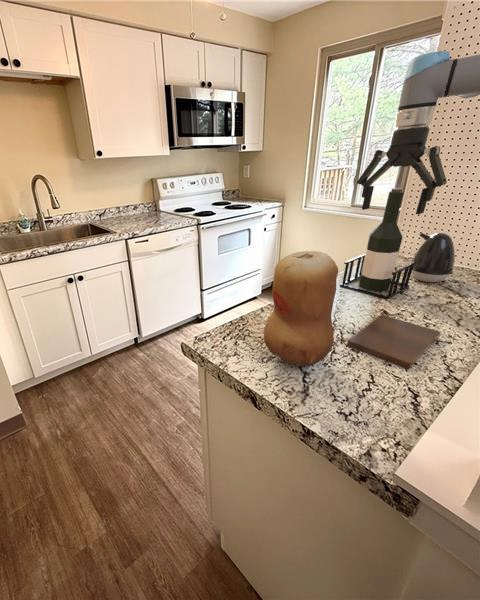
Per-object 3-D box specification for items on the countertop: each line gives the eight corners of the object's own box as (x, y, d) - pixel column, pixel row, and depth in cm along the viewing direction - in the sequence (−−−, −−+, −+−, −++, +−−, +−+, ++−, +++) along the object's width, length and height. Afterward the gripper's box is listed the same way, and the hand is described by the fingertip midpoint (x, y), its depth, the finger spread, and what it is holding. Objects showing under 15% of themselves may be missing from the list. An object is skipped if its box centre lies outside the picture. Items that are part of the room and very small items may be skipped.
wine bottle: (381, 281, 102) (405, 185, 89) (395, 291, 95) (423, 189, 82) (353, 282, 104) (373, 188, 91) (364, 292, 96) (388, 191, 84)
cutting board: (380, 319, 82) (381, 314, 81) (439, 337, 72) (441, 331, 72) (346, 345, 73) (347, 340, 72) (408, 369, 64) (410, 363, 63)
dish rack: (361, 275, 108) (366, 252, 104) (409, 287, 97) (417, 261, 93) (338, 286, 102) (343, 262, 98) (387, 299, 91) (394, 273, 87)
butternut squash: (251, 348, 75) (258, 249, 65) (300, 338, 77) (315, 240, 67) (286, 385, 63) (302, 270, 52) (344, 371, 65) (370, 258, 54)
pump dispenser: (417, 271, 107) (430, 227, 100) (455, 280, 98) (472, 232, 91) (399, 278, 103) (411, 233, 97) (437, 288, 94) (453, 239, 88)
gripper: (353, 133, 89) (339, 209, 98) (470, 121, 69) (440, 218, 78) (367, 132, 92) (352, 205, 101) (483, 120, 72) (452, 213, 81)
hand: (390, 211), depth 89 cm, fingers open, 13 cm apart
